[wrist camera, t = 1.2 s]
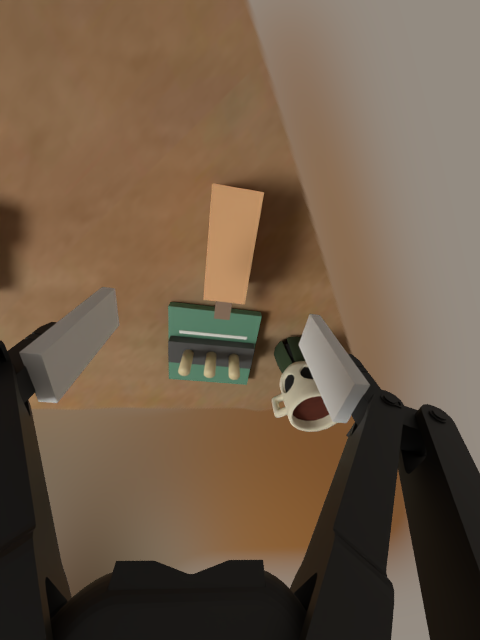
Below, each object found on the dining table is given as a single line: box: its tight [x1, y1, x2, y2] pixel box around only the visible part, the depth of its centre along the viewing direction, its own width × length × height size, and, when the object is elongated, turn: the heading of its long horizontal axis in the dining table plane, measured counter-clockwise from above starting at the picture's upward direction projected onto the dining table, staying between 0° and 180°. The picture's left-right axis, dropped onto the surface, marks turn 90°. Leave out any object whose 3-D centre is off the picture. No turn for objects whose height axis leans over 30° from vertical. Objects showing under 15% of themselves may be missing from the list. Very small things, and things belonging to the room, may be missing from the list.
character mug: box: [272, 337, 337, 432], centre depth 33 cm, size 11×7×13 cm, turn 122°
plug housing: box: [203, 183, 264, 320], centre depth 27 cm, size 5×15×7 cm, turn 172°
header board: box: [168, 302, 262, 385], centre depth 35 cm, size 14×14×7 cm
